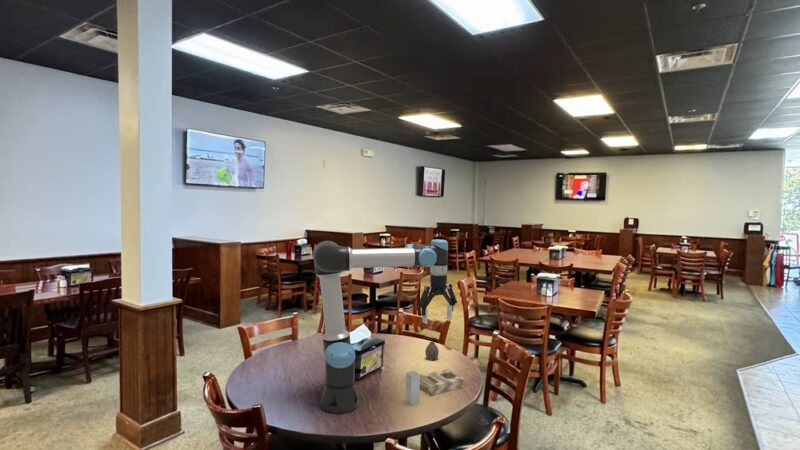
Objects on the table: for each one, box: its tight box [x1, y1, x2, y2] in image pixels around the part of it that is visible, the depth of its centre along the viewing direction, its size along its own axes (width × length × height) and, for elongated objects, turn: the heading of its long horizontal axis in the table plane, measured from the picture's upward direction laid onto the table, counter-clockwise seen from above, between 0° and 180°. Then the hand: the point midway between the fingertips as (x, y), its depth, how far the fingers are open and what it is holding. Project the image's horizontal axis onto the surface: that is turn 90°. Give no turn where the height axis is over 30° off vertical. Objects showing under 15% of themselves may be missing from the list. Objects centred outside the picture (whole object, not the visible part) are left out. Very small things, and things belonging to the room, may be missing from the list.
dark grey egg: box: [424, 341, 440, 361], centre depth 223 cm, size 7×7×9 cm
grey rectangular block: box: [405, 370, 420, 406], centre depth 174 cm, size 4×4×12 cm
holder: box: [419, 368, 465, 397], centre depth 190 cm, size 18×12×4 cm, turn 121°
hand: (437, 321), depth 192 cm, fingers open, 13 cm apart
